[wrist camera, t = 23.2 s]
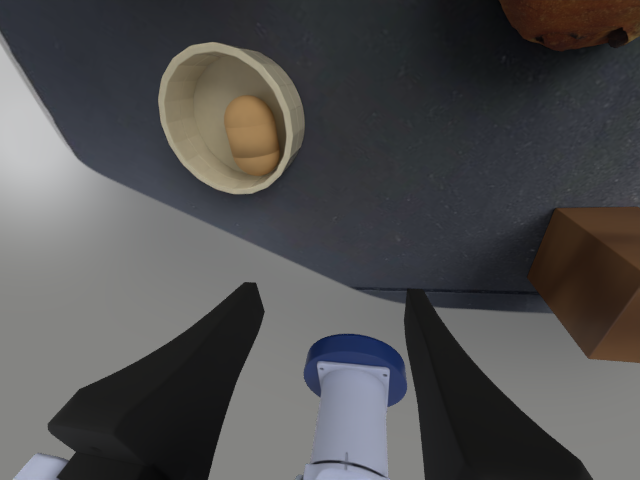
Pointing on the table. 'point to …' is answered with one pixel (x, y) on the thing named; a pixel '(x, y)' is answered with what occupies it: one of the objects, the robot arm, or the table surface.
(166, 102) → the bowl
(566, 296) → the block
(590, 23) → the bread roll
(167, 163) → the table surface
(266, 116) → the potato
